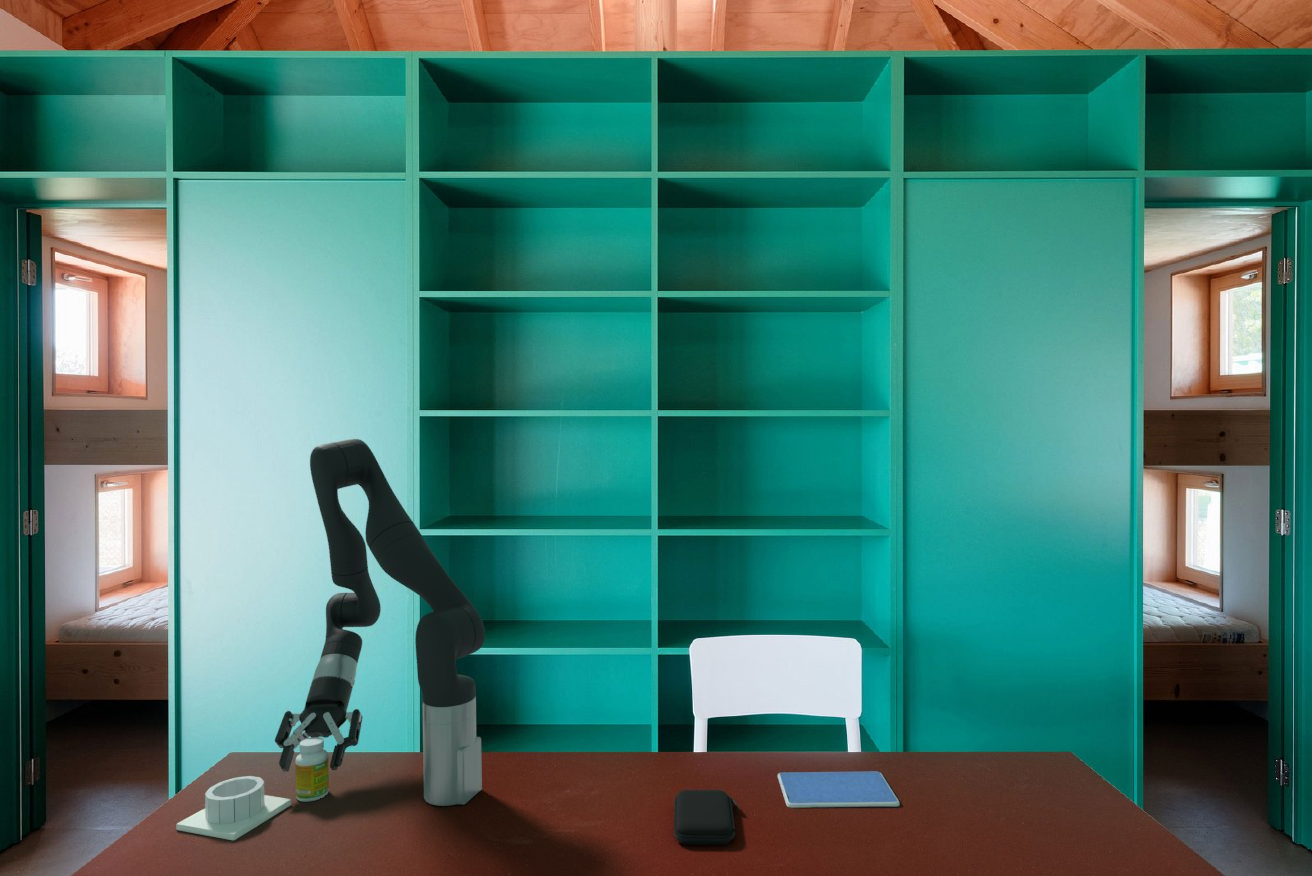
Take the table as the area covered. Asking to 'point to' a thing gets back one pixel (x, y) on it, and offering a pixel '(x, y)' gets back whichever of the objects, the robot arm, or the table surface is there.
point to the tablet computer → (836, 789)
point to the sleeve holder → (234, 809)
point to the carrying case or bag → (704, 817)
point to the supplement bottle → (312, 770)
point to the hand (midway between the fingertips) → (309, 769)
